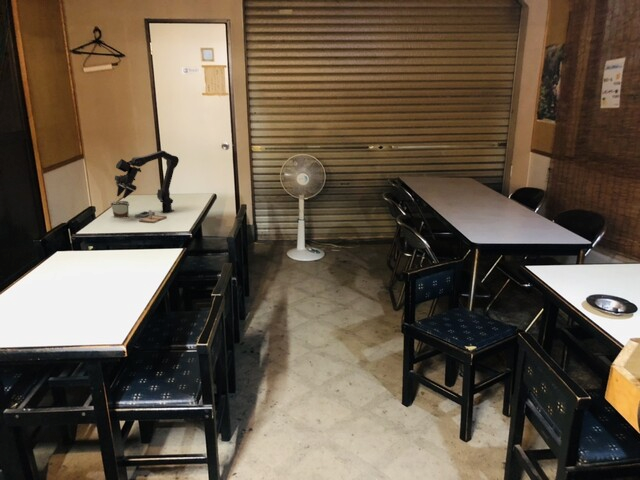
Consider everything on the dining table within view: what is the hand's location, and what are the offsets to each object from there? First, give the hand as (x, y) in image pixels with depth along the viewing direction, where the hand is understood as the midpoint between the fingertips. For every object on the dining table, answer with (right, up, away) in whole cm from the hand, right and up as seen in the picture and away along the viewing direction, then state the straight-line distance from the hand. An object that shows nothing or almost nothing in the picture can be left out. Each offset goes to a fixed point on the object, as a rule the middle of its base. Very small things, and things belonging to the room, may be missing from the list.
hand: (120, 197), depth 320 cm
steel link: (+12, -12, +12) cm, 21 cm away
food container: (-3, -12, +13) cm, 18 cm away
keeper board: (+20, -15, +3) cm, 25 cm away
